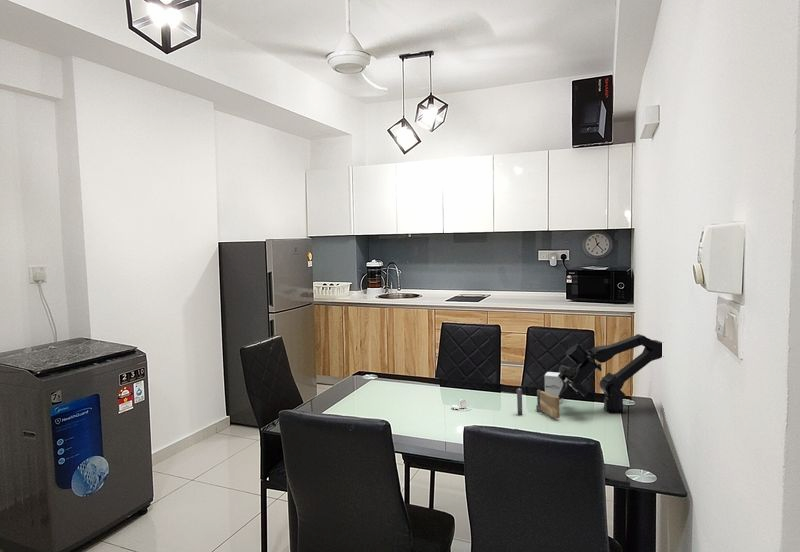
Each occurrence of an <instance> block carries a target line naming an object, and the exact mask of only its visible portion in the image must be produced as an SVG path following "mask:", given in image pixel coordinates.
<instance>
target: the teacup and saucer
mask: <svg viewBox="0 0 800 552" xmlns="http://www.w3.org/2000/svg"><path fill="white" fill-rule="evenodd" d="M459 406H460V407H461V408H466V409H467V408H468V406H470V401H469V400H466V399H465V398H463V399H462V398H461V399H459V405H457V404H452V405H451V409H453V408H455V409H458V408H459V409H461V408H460V407H459ZM466 406H467V407H466ZM455 409H454V410H455ZM459 409H458V410H459Z"/></svg>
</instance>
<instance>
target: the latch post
mask: <svg viewBox="0 0 800 552" xmlns="http://www.w3.org/2000/svg"><path fill="white" fill-rule="evenodd" d="M516 398H517V399H516V403H517V404H516V405H517V406H516V407H517V408H516V409H517V416H523V389H522V388H520V387H518V388H516Z"/></svg>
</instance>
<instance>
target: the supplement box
mask: <svg viewBox="0 0 800 552" xmlns="http://www.w3.org/2000/svg"><path fill="white" fill-rule="evenodd" d="M559 374H560V372H554V371H546V373H545V374H544V392H546V393H548V394H550V395H552V396H557V397H558V395H559V393H560V391H561V389H562V386H563V383H562V379H561V378H560V377H559V376H558V375H559ZM563 401H564V398H562V399H559V405H560V404H562V403H563Z"/></svg>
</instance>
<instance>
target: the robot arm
mask: <svg viewBox="0 0 800 552" xmlns="http://www.w3.org/2000/svg"><path fill="white" fill-rule="evenodd" d="M640 346H642V347H644V348H643V351H642V352H641V353H640V354H639V355H637V356H636V357H635V358H634V359H632V360H631V361H630V362H628V363H627V364H626V365H625V366H624V367H622V368H621V369H620V370H619V371H617V372H615V373H611V372H607V374H605V376H602V377H601V379H600V380H599V388H600V390H601V391H603V394H605V395H604V399H603V409H604V410H605V411H606V412H608V413H609V414H622V413H623V414H624V413H625V410H624V402H623V401H624V399H625V397H626V394H625V393H624V392H623V390H622V388H623V387H624V385H625V382H627V381H628V380H630V378H632V377H633V376H634V375H636V374H637V373H638V372H639V371H640V370H642V369H643V368H645V367H646V366H647V365H648V364H650V363H651V362H653V361H657V360H660V359H661V358H663V357H662V341H660V340H655V339H651V338H650V337H649V338H648V337H646V336H645V335H643V334H635V335H633V336H630V337H628V338H625V339H622V340H620V341H617V342H614V343H611V344H607V345H606V344H602V345H598V346H594V347H592V348H591V349H586V350H585V349H584V348H582V346H581V345H580V344H578V343H576V344H575V345H573V346H571V347H569V348H568V349H567V350H566V352H565V356H567V357H568V358H569V359H570V360H571V361H572V362H573V363H574V364H575V365H578V366H577V367H571V366H566V365H562V364H560V366H559V369H558V372H557V373H560V374H559V375H558V376H559V377H560V378H561V379H562V383H563V386H562V389H561V391H560V393H559V395H558V397H559V399H562V398H563V399H565V398H567V397H570V396H573V395H578V393H580V395H581V396H583V397H586V395H587V394H588V389H587V388H585V386H583V383H584V382H585V381H589V380H590V378H589V377H590V376H591V375H592V374H593V373H594V372H595V370H598V371H599V372H602V363H606V362H608V361H610V360H611V359H612V358H614V357H615V356H616V355H618V354H620V353H623V352H626V351H629V350H631V349H635V348H637V347H640ZM589 358H590V359H589ZM598 362H599V363H598Z"/></svg>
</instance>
